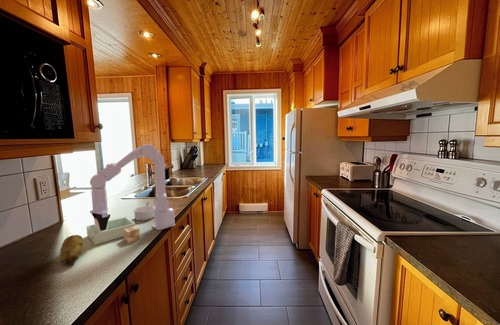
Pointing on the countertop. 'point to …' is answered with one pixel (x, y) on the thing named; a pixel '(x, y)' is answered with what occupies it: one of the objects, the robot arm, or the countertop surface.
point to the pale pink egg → (97, 228)
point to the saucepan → (144, 212)
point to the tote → (109, 230)
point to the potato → (71, 249)
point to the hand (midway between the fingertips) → (101, 228)
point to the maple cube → (131, 234)
